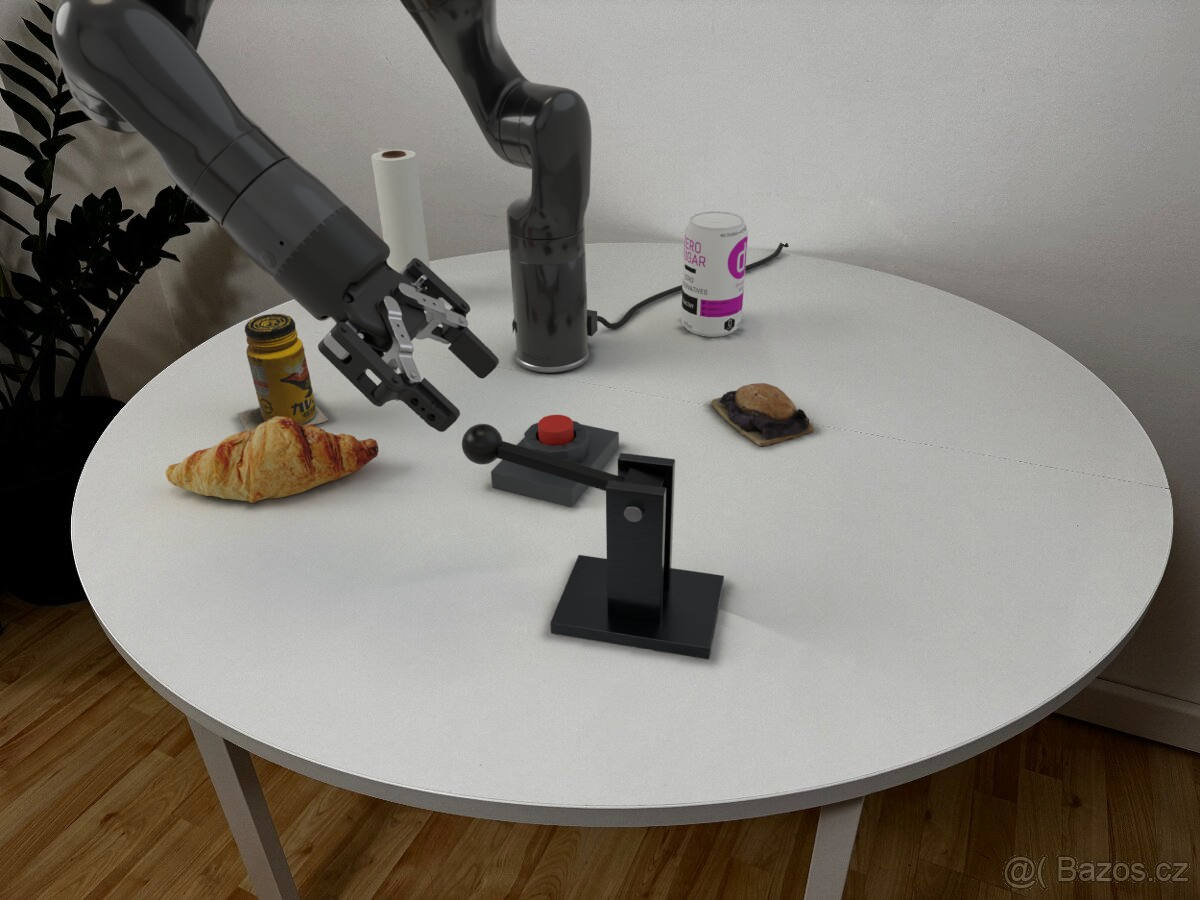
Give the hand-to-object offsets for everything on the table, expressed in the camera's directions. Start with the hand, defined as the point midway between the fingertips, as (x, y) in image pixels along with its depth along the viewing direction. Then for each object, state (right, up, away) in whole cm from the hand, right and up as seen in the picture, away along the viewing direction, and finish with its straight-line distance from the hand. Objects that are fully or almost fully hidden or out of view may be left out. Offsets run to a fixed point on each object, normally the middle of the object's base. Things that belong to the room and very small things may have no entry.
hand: (472, 395), depth 68 cm
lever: (+6, -7, +2) cm, 10 cm away
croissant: (-24, -7, +25) cm, 35 cm away
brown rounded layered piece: (+28, -1, +34) cm, 44 cm away
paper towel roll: (-18, +18, +65) cm, 70 cm away
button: (+5, -3, +24) cm, 25 cm away
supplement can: (+25, +13, +56) cm, 62 cm away
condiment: (-27, -1, +36) cm, 45 cm away
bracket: (+13, -18, +7) cm, 23 cm away
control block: (+5, -6, +26) cm, 27 cm away
